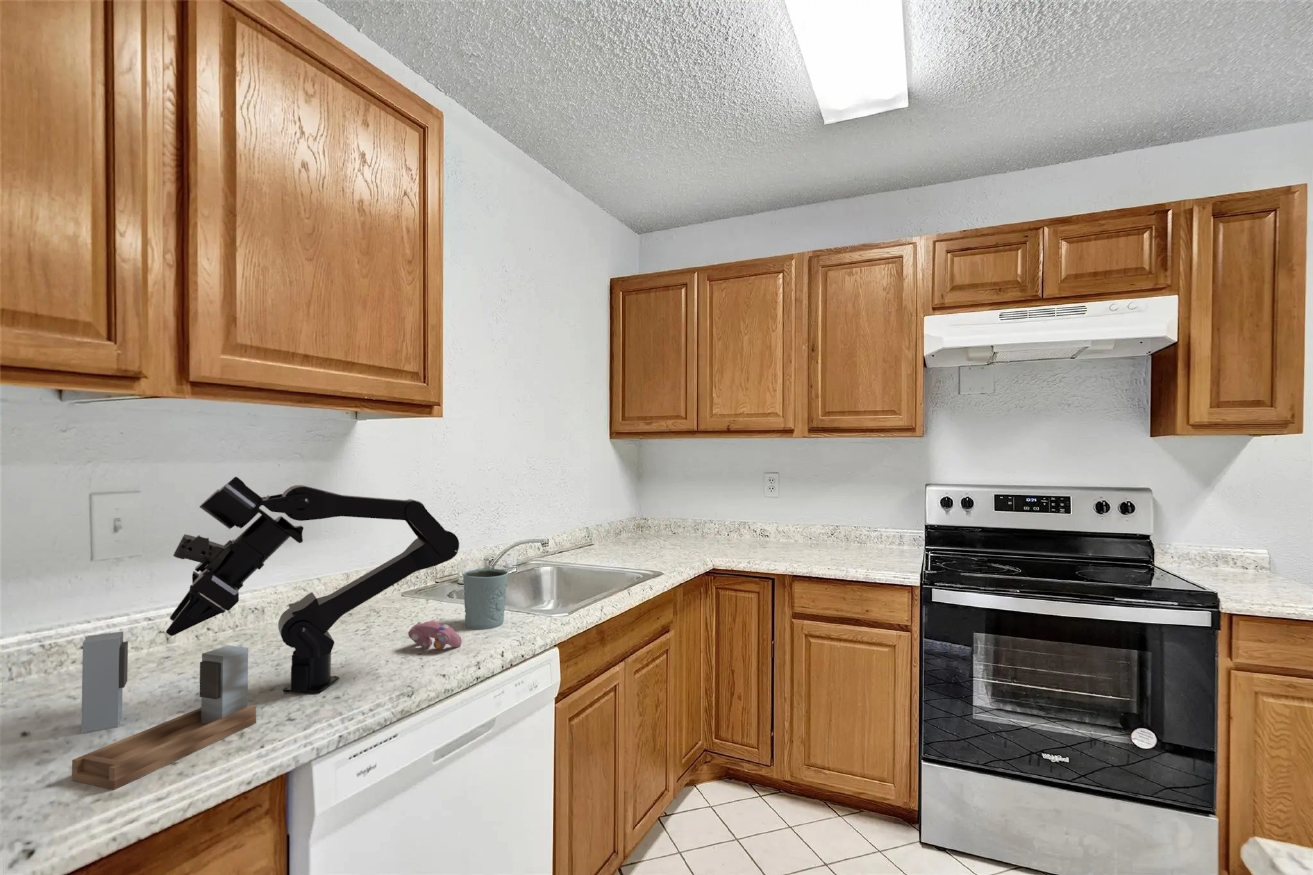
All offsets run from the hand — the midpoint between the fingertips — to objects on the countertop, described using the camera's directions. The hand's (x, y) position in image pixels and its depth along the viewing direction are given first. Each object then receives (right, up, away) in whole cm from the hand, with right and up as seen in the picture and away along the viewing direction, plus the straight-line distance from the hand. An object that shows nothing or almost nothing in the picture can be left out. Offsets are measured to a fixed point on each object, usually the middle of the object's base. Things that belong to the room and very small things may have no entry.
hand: (170, 626), depth 97 cm
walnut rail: (+9, -13, -11) cm, 20 cm away
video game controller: (+30, -14, +32) cm, 46 cm away
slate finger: (-7, -13, -4) cm, 16 cm away
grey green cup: (+35, -14, +49) cm, 62 cm away
